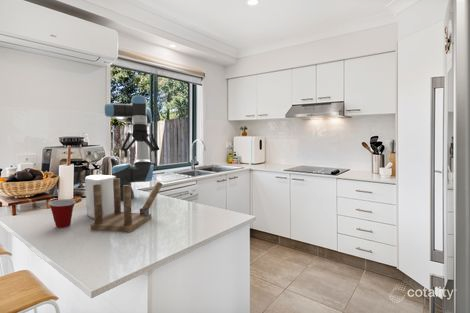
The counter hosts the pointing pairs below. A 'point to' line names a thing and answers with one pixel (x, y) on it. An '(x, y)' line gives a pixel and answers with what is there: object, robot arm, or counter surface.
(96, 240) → the counter surface
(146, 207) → the folding leg
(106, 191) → the white canister
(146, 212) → the hinge bracket
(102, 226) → the footstool
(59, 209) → the plastic cup
